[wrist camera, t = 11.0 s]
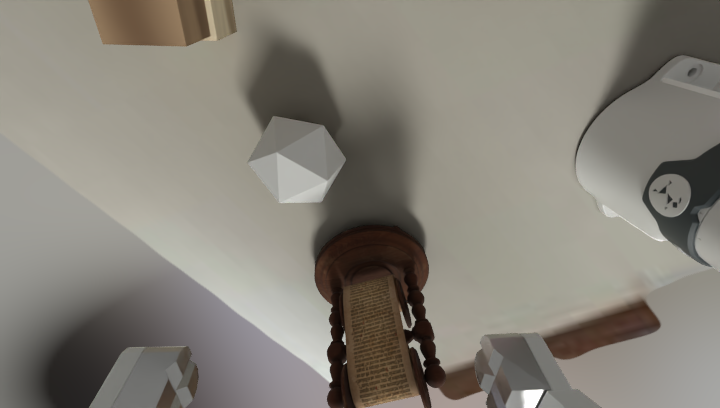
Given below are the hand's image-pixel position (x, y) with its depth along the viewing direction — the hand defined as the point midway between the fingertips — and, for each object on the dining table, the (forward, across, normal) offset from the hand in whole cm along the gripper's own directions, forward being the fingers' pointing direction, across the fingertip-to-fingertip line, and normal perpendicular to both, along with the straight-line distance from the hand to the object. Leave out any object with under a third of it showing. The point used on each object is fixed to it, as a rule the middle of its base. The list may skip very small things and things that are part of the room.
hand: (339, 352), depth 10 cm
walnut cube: (+23, +12, -8) cm, 27 cm away
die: (+29, +4, +6) cm, 30 cm away
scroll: (+29, -4, +23) cm, 37 cm away
